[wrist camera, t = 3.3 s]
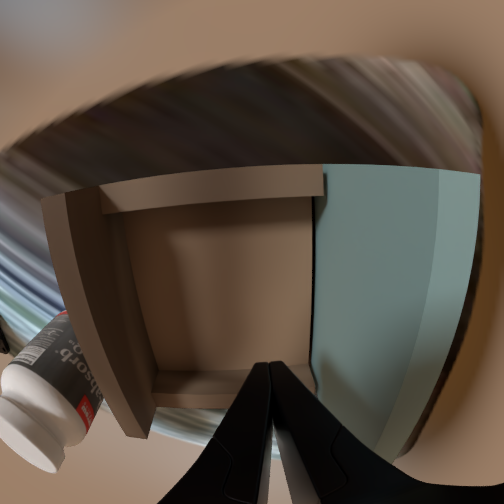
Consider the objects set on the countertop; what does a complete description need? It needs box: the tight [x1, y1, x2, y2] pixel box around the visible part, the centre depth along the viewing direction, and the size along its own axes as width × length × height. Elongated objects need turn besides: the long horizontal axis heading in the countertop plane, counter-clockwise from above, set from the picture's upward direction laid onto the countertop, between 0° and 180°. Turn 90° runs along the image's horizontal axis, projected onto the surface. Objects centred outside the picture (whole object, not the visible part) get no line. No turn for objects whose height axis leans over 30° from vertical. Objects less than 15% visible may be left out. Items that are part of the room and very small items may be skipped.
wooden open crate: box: [41, 164, 324, 439], centre depth 12 cm, size 10×12×6 cm
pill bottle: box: [0, 310, 104, 473], centre depth 11 cm, size 6×6×10 cm
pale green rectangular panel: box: [310, 164, 480, 464], centre depth 10 cm, size 1×12×9 cm, turn 3°
